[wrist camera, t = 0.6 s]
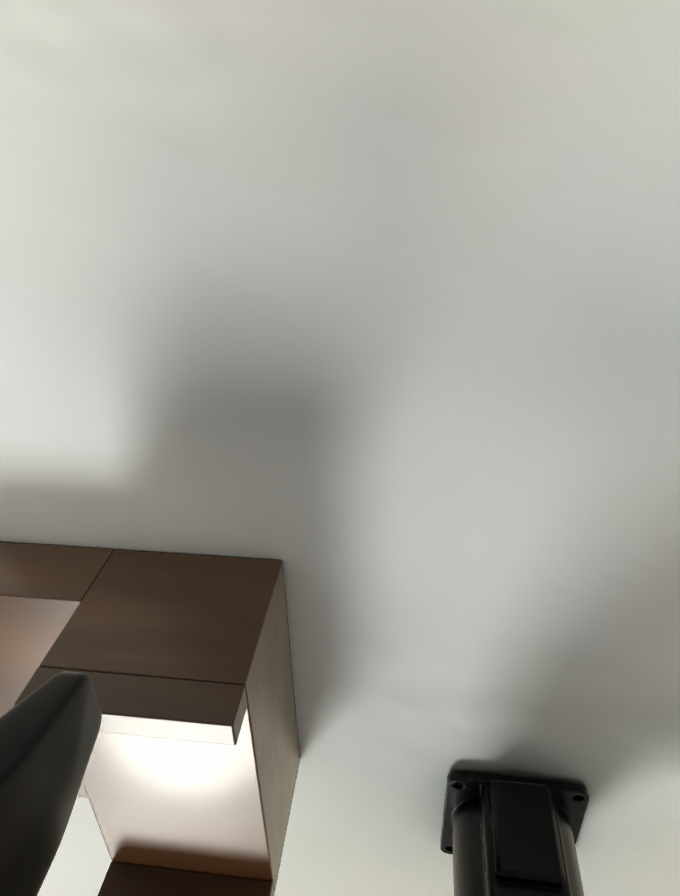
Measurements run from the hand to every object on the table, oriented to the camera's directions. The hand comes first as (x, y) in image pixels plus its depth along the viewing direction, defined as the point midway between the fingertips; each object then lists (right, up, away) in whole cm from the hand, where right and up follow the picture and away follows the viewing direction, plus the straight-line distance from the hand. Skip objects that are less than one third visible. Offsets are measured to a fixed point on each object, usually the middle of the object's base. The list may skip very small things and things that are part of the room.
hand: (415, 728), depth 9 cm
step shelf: (-9, -6, +21) cm, 24 cm away
